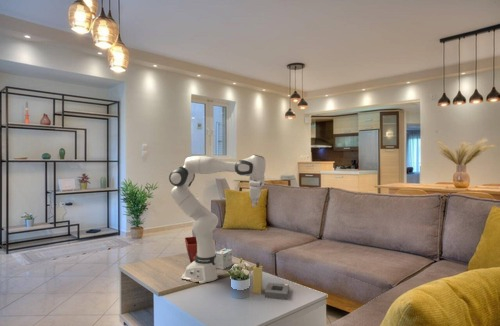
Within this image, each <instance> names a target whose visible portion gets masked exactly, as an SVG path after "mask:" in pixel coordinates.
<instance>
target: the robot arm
mask: <svg viewBox="0 0 500 326" xmlns="http://www.w3.org/2000/svg"><path fill="white" fill-rule="evenodd" d="M221 172H231V173H236V174H237V175H240V176H246V177H249V182H248V186H249V199H251V207H252V208H254V207H256V206H257V205H258V203H259V198H260V197H261V194H262V187H264V186H265V172H266V158H265V157H264V156H261V155H258V154H252V155H251V156H249V157H246V158H243V159H239V160H237V161H235V162H234V161H227V160H226V161H224V160H221V159H217V158H214V157H211V156H208V155H207V156H206V155H193V156H188V157H186V158H185V160H184V164H183V166H179V167H177V168H175V169H173V170H172V171H171V172H170V174H169V175H168V180H169V183H170V184H171V185H172V186H173V188H171V192H170V193H171V196H172V199H173V200H174V202H175V203H176V204H177V205H178V208H180V209H181V210H182V211H183V213H184V214H185V216H187V217H189V218H191V219H192V220H193V221H194V222H193V224H192V227H191V228H192V232H193V234H194V235H195V236H194V237H196V240H197V254H196V255H195V257H194V259H195V261H193V262H192V263H191V262H190V263H189V264H188V265H187V266H186V268H185V271H184V273H183V274H182V275H181V278H183V279H191V278H194V279H199V280H201V281H199V283H198V284H206V283H207V282H213V281H215V280H218V278H219V275H218V271H217V268H216V245H215V241H216V240H215V239H214V235H213V231H214V230H215V229H216V228H217V227H218V224H219V217H218V216H217V214H215V213H213V212H212V211H210V210H209V209H208V208H206V207H205V205H203V204H202V203H201V202H200V201H199V200H198V199H197V197H196V196H195V195H194V194H193V193H192V192H191V190H190V187H191V185H192V183H193V182H194V180H195V178H196V175H197V174H198V175H199V174H200V175H211V174H216V173H221ZM214 240H215V241H214ZM217 276H218V277H217Z"/></svg>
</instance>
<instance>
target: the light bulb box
mask: <svg viewBox="0 0 500 326" xmlns="http://www.w3.org/2000/svg"><path fill="white" fill-rule="evenodd" d="M215 254H216V267H217V268H216V269H218V268H221V269H220V270H222V269H224V268H225V269H227V268H230V267H231V266H233V249H230V248H225V247H224V248H222V249H221V250H218V251H215ZM226 267H227V268H226ZM225 269H224V270H225Z"/></svg>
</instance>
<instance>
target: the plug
mask: <svg viewBox="0 0 500 326" xmlns="http://www.w3.org/2000/svg"><path fill="white" fill-rule="evenodd" d="M255 263H256V264H255V265H254V266H253V267H252V291H253V292H252V293H254V294H262V292H263V265H260V262H259V261H256V262H255Z"/></svg>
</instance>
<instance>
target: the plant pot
mask: <svg viewBox="0 0 500 326" xmlns="http://www.w3.org/2000/svg"><path fill="white" fill-rule="evenodd" d="M214 241H215V246H216V245H217V243H216V240H215V239H214ZM184 242H185V248H186V252H187V256H188V259H189V262H190V264H191V263H192V262H193V261H195V259H194V257H195V255H196V254H197V240H196V236H186V237H184Z"/></svg>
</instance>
